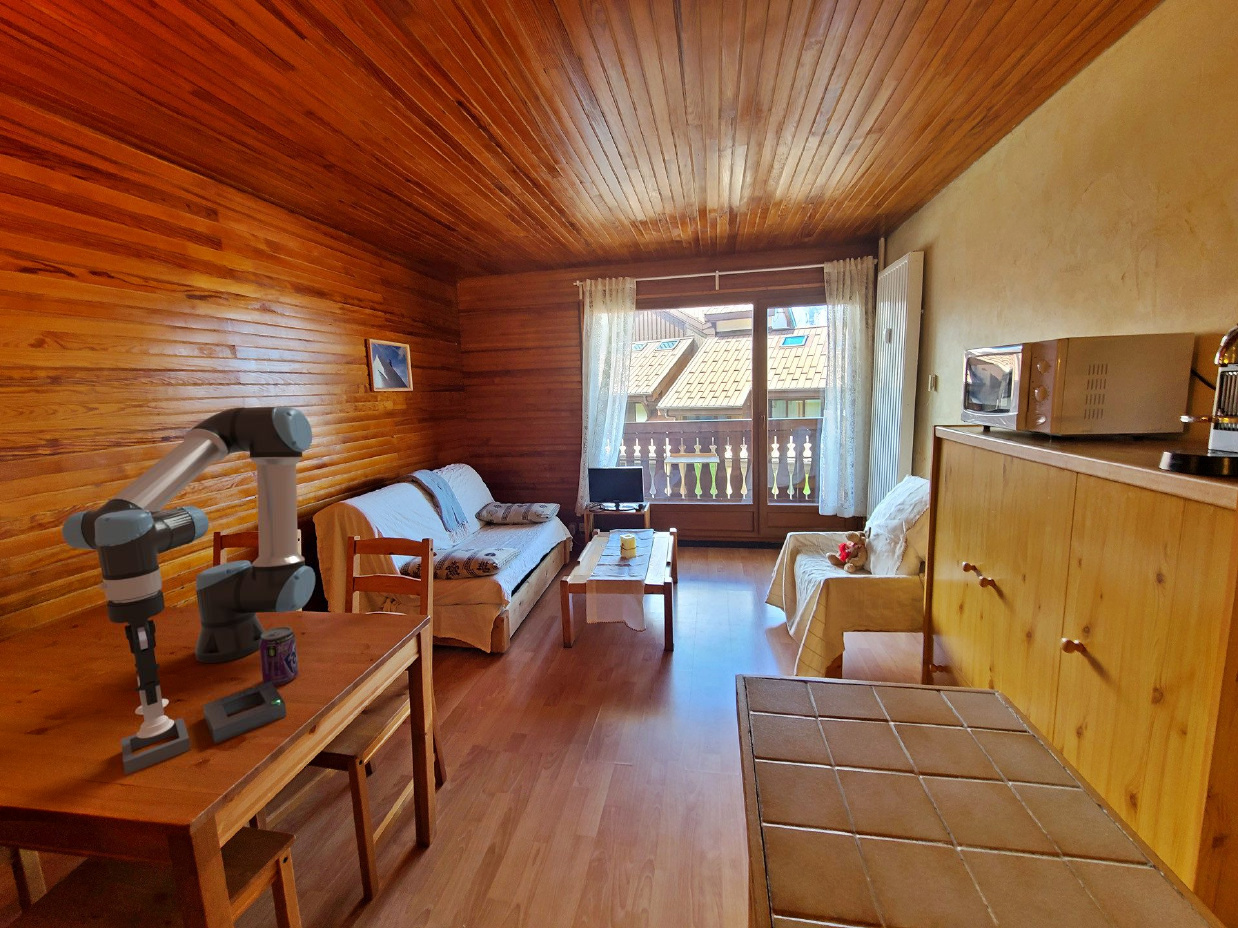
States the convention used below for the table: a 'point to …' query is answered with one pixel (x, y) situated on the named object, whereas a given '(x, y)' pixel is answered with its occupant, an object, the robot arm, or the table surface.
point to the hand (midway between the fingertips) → (152, 711)
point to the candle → (154, 723)
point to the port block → (246, 720)
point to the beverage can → (278, 655)
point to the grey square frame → (157, 752)
